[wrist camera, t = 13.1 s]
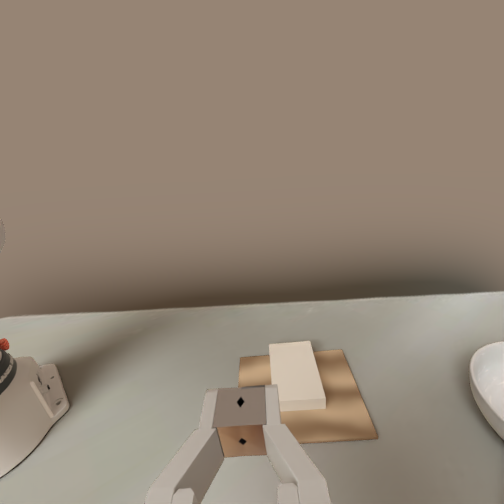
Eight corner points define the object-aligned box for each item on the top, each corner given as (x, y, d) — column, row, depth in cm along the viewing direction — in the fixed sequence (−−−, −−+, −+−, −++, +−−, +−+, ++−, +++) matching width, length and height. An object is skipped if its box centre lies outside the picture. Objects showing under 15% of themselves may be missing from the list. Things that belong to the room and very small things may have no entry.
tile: (325, 398, 39) (309, 340, 50) (273, 401, 39) (268, 344, 50) (325, 408, 40) (310, 350, 51) (274, 412, 40) (269, 353, 51)
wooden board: (377, 438, 35) (378, 436, 35) (235, 447, 37) (234, 445, 36) (341, 351, 50) (341, 349, 50) (240, 359, 51) (240, 357, 51)
